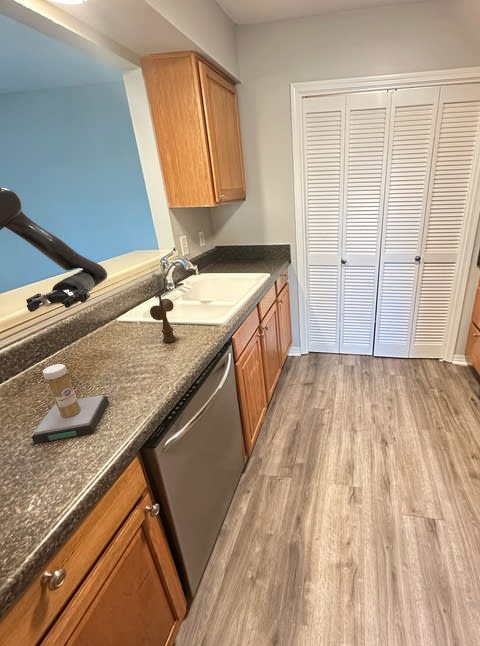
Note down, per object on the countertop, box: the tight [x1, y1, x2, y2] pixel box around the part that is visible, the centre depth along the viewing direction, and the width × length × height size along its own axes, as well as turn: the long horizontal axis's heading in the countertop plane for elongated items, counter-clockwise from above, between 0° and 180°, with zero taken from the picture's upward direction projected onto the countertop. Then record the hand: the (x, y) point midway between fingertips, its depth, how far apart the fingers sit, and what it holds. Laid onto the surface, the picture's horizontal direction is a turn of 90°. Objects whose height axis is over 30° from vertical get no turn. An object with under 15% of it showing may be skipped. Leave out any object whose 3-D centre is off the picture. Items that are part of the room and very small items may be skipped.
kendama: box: [149, 292, 177, 343], centre depth 125 cm, size 6×10×20 cm, turn 1°
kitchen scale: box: [31, 394, 110, 445], centre depth 85 cm, size 13×13×3 cm
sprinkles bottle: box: [42, 363, 81, 418], centre depth 81 cm, size 5×5×14 cm
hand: (48, 306), depth 87 cm, fingers open, 8 cm apart
